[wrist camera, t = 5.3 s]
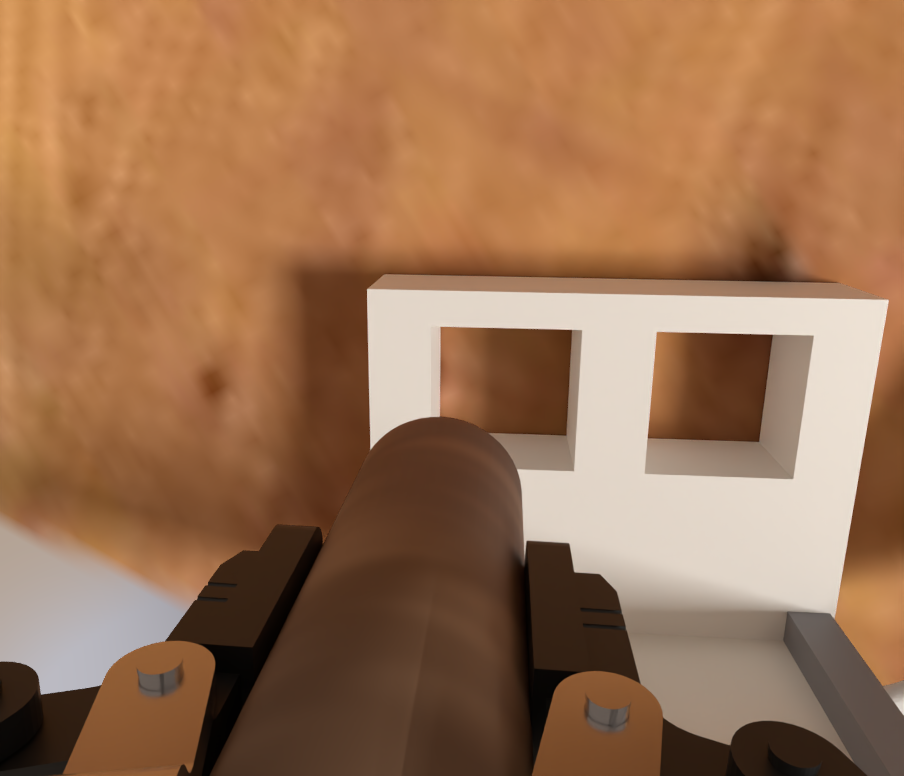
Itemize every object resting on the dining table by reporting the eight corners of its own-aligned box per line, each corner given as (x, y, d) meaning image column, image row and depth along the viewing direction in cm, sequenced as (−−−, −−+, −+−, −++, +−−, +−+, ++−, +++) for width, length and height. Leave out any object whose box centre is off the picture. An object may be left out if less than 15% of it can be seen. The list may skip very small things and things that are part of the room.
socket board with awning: (840, 283, 30) (1805, 616, 8) (792, 598, 34) (1339, 1430, 12) (384, 274, 31) (69, 540, 9) (388, 580, 35) (178, 1301, 13)
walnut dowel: (526, 421, 16) (575, 1059, 5) (517, 573, 17) (535, 1411, 6) (357, 412, 16) (-4, 998, 5) (358, 563, 17) (59, 1350, 6)
